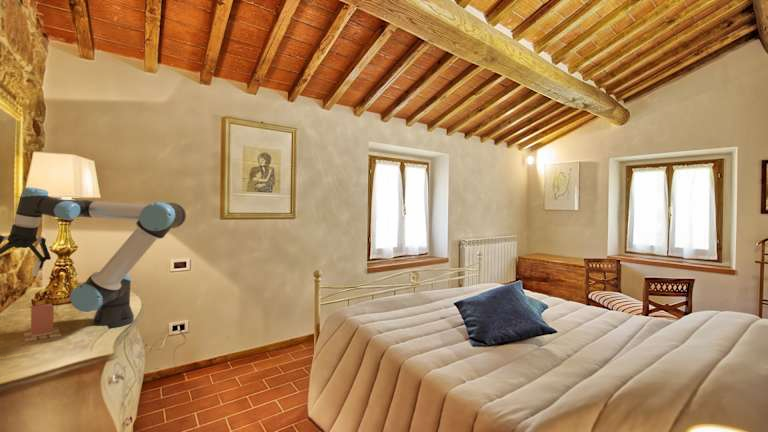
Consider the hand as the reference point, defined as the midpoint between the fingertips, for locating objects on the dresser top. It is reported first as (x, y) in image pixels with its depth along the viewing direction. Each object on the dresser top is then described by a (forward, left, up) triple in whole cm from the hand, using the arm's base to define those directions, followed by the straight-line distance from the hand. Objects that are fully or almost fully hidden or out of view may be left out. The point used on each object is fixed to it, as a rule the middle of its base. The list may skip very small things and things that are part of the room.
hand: (12, 275), depth 140 cm
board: (-13, +10, -24) cm, 29 cm away
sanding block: (-11, +6, -23) cm, 26 cm away
